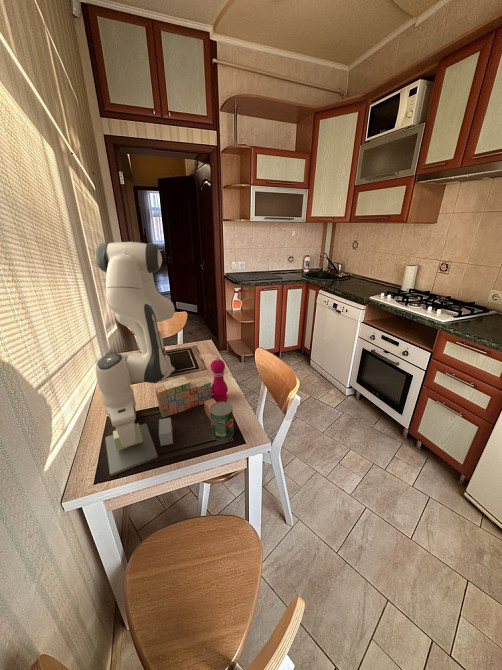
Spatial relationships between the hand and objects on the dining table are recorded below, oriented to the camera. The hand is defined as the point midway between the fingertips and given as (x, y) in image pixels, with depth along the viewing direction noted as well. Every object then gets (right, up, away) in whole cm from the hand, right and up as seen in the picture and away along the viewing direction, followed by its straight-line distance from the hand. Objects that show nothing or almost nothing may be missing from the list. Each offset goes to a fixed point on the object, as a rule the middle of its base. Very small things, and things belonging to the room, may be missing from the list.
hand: (128, 437), depth 91 cm
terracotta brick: (+26, +3, +17) cm, 31 cm away
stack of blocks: (+14, +5, +23) cm, 28 cm away
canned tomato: (+31, -1, +8) cm, 32 cm away
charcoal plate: (0, -4, +2) cm, 4 cm away
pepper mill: (+28, +7, +27) cm, 40 cm away
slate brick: (+11, -2, +6) cm, 13 cm away
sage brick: (0, -2, +1) cm, 2 cm away
